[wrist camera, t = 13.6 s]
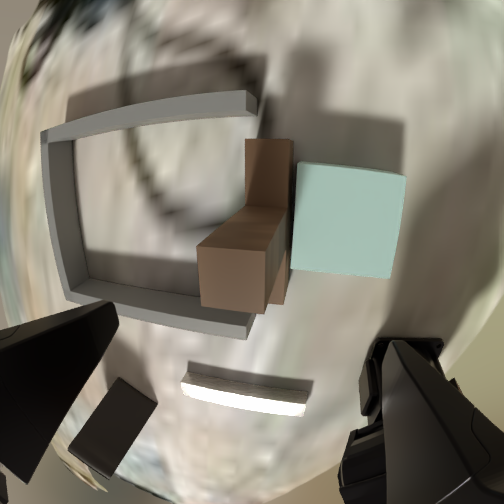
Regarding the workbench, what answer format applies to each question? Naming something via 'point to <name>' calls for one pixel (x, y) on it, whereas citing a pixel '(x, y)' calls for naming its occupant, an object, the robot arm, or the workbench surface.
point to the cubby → (67, 224)
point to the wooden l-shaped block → (252, 236)
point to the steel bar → (244, 395)
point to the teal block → (346, 219)
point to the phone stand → (112, 428)
